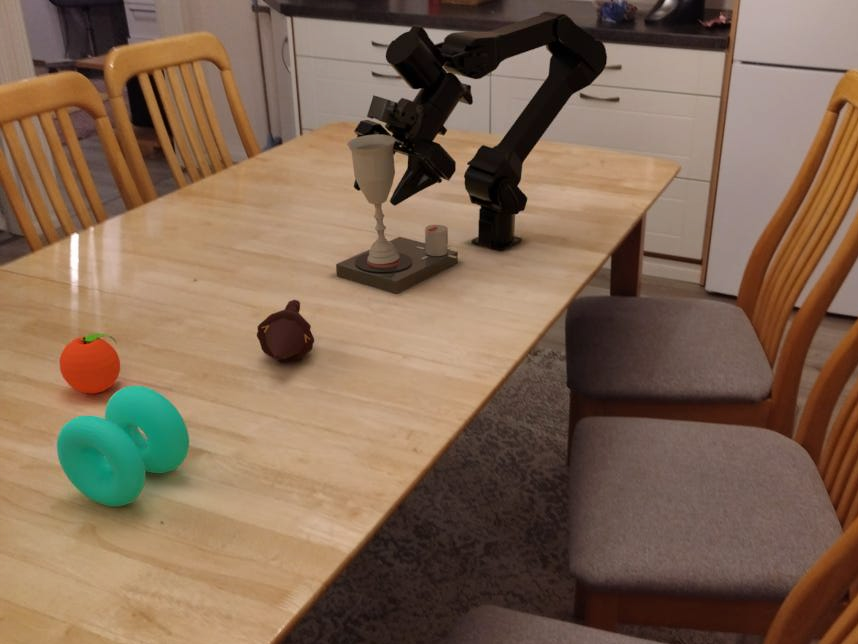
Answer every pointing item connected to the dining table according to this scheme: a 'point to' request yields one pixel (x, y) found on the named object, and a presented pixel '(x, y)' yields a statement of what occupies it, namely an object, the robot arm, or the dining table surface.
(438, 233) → the hob knob
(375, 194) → the chalice
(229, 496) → the dining table surface
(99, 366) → the clementine
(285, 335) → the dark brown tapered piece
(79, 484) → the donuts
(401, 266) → the burner
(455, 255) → the hob
